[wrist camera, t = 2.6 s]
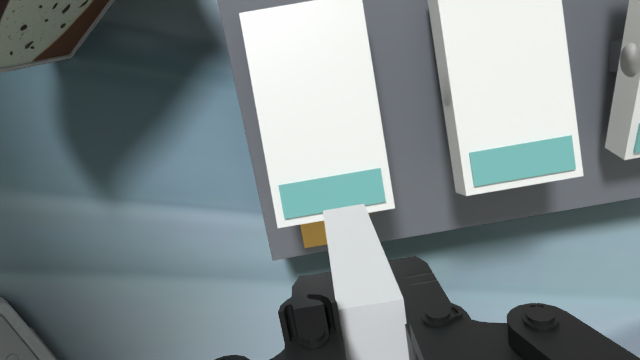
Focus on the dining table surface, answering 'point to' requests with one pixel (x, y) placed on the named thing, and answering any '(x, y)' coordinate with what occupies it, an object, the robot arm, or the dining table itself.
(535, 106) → the rocker
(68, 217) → the dining table surface
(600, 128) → the switch unit
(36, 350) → the digital clock
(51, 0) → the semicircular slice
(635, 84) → the white rectangular block
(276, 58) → the rocker
